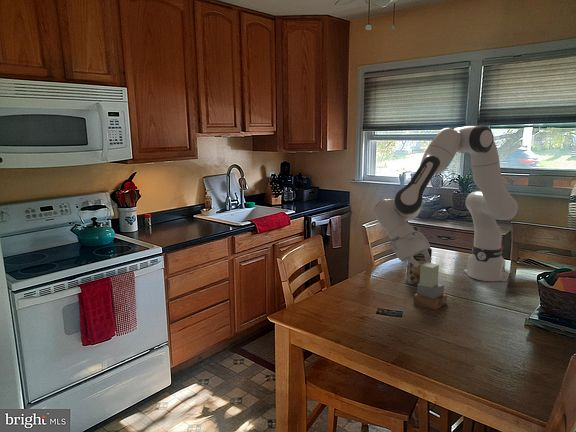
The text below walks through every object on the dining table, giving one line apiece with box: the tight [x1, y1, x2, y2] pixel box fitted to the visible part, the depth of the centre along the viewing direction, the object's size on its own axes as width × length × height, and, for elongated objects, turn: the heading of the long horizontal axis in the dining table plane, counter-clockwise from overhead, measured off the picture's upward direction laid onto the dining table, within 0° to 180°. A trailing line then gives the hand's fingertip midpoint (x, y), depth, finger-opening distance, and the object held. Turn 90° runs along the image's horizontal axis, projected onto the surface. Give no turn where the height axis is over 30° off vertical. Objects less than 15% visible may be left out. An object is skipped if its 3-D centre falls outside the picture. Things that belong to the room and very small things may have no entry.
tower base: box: [413, 292, 448, 311], centre depth 159 cm, size 9×9×4 cm
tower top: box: [416, 282, 445, 299], centre depth 159 cm, size 7×7×4 cm
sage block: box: [420, 262, 440, 288], centre depth 157 cm, size 5×5×8 cm
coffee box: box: [405, 246, 433, 285], centre depth 181 cm, size 9×6×16 cm
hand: (424, 263), depth 158 cm, fingers open, 8 cm apart
